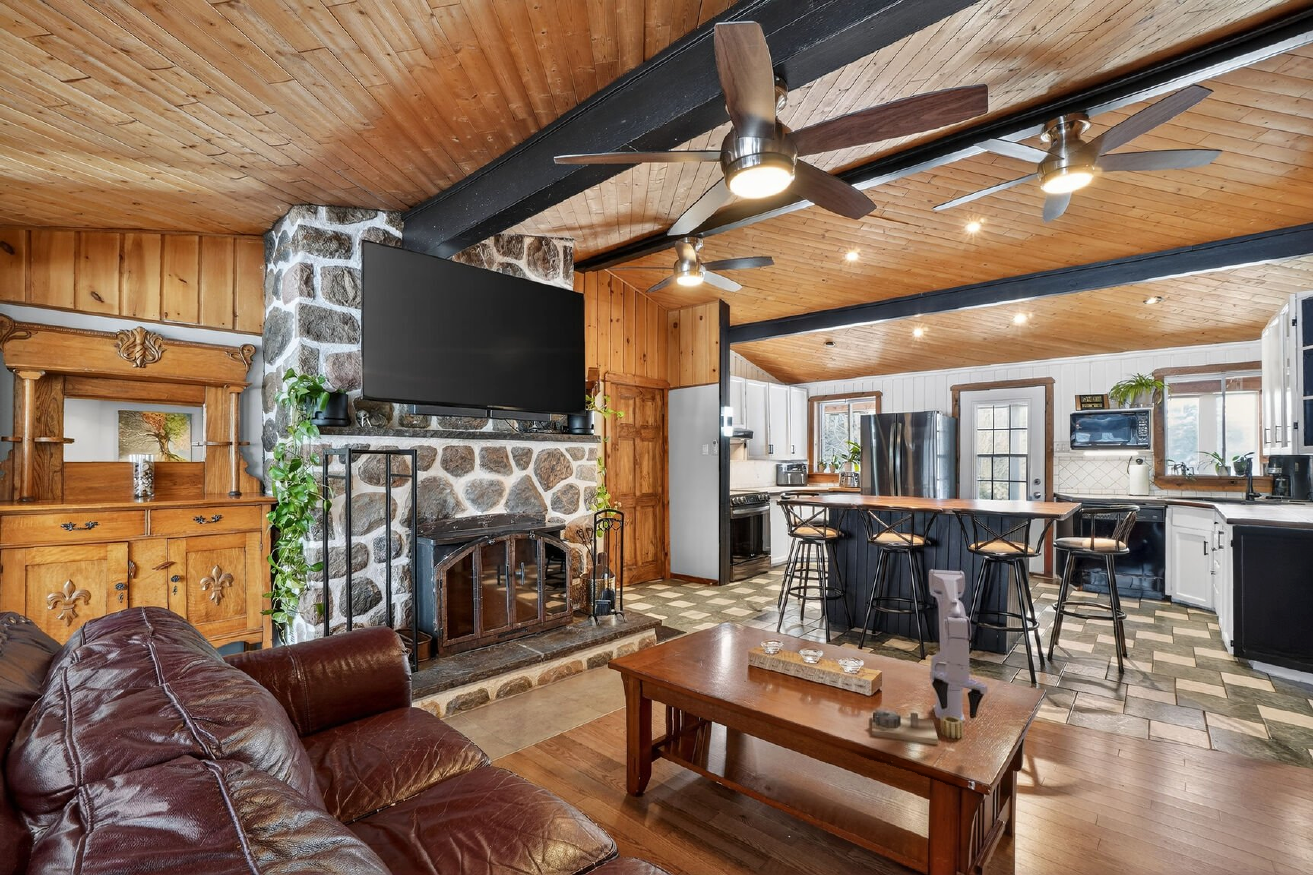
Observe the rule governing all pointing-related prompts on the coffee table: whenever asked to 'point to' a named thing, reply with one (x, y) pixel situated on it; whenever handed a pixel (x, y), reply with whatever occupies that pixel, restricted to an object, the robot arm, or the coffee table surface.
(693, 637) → the coffee table surface
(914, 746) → the coffee table surface
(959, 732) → the brass gear
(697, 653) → the coffee table surface
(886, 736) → the gear board
